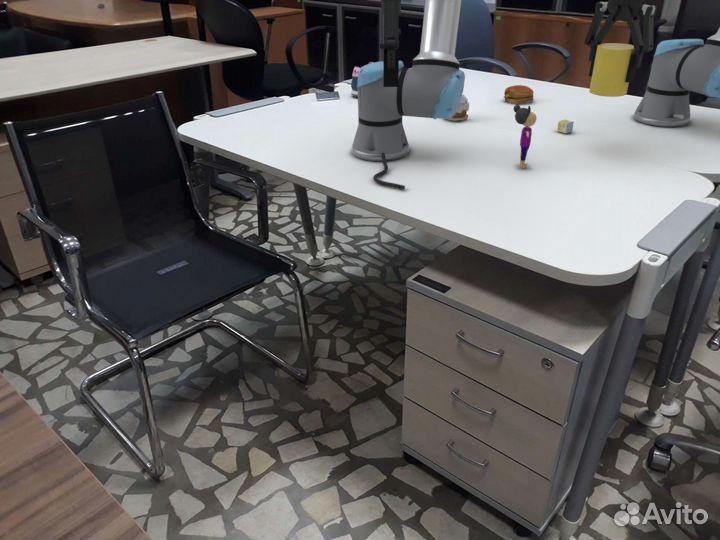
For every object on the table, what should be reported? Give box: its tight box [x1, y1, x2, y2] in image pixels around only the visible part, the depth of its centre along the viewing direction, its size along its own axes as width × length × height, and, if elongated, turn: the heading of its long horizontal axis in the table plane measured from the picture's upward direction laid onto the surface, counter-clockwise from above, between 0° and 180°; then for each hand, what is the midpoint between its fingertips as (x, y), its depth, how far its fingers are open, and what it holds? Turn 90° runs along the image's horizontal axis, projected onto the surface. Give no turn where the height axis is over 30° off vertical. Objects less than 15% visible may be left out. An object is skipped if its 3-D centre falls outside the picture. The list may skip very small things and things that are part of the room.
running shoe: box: [350, 61, 374, 98], centre depth 209 cm, size 9×26×11 cm, turn 138°
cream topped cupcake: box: [447, 94, 470, 122], centre depth 176 cm, size 8×8×15 cm
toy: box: [512, 104, 537, 169], centre depth 139 cm, size 10×6×15 cm, turn 168°
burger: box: [503, 84, 534, 105], centre depth 195 cm, size 10×9×5 cm
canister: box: [588, 42, 635, 98], centre depth 141 cm, size 9×9×11 cm
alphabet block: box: [557, 119, 574, 134], centre depth 165 cm, size 3×3×3 cm
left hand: (390, 78), depth 109 cm, fingers open, 13 cm apart
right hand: (610, 78), depth 142 cm, fingers closed on canister, 9 cm apart
